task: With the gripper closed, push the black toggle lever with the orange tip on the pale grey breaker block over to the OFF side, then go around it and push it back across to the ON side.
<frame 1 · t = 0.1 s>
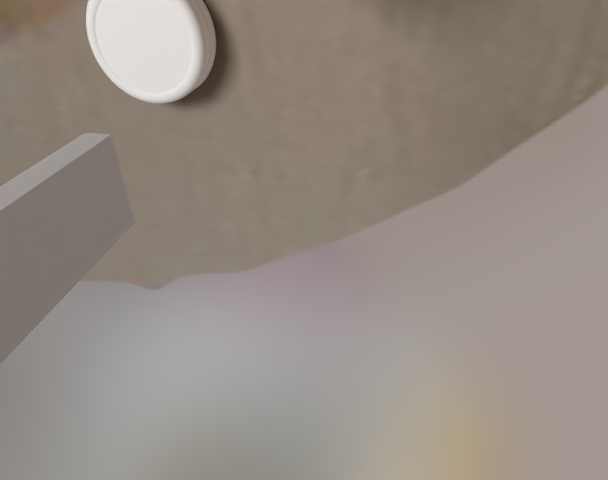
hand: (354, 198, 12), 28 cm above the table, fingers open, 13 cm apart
white short cylinder: (163, 33, 39), on the table
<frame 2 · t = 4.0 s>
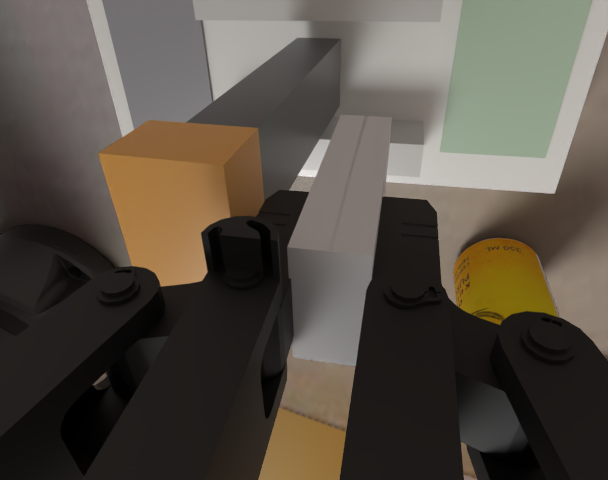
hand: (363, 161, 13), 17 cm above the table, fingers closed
beer can: (494, 263, 35), on the table
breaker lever: (272, 125, 16), point 15 cm above the table, hinge at -3.3°, touching gripper
breaker block: (343, 37, 28), on the table
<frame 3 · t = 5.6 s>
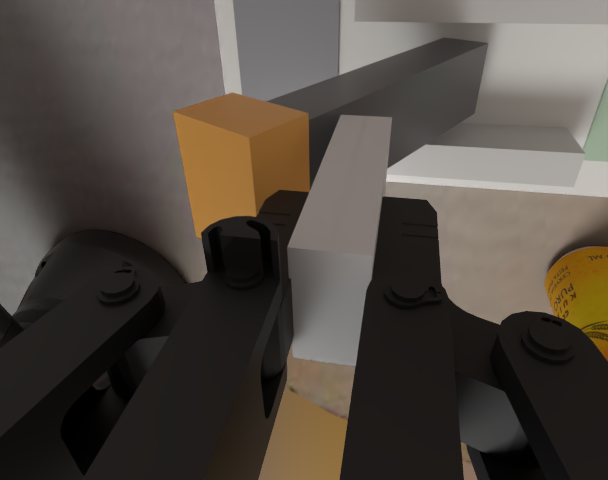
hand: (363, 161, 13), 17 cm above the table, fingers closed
beer can: (586, 271, 34), on the table
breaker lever: (371, 119, 16), point 14 cm above the table, hinge at -29.7°, touching gripper
breaker block: (456, 39, 27), on the table
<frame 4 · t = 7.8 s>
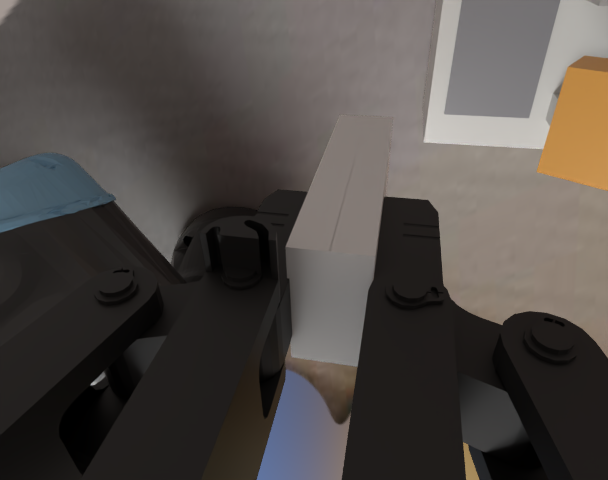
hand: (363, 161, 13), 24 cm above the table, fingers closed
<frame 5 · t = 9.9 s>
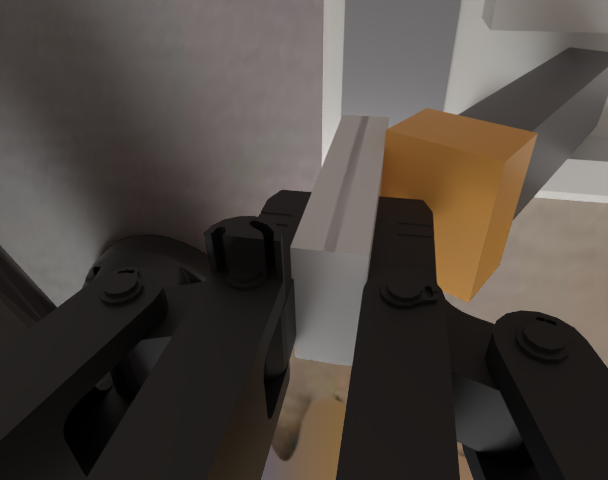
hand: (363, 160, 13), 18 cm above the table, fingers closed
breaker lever: (528, 134, 15), point 14 cm above the table, hinge at -28.7°, touching gripper
breaker block: (550, 47, 26), on the table
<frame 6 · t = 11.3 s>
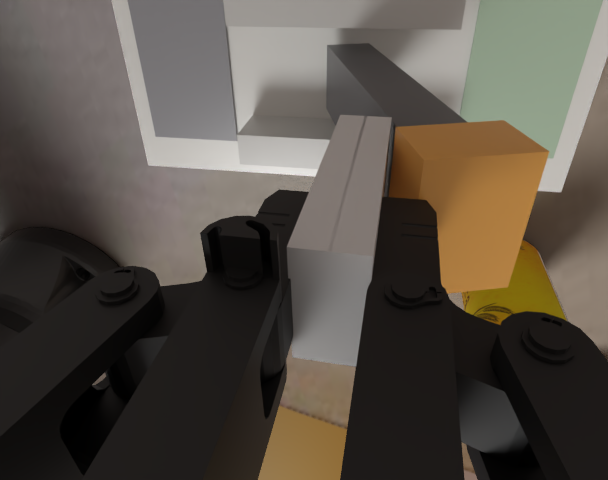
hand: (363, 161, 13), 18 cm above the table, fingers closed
beer can: (497, 261, 36), on the table
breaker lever: (387, 127, 16), point 15 cm above the table, hinge at 17.6°, touching gripper
breaker block: (355, 43, 29), on the table
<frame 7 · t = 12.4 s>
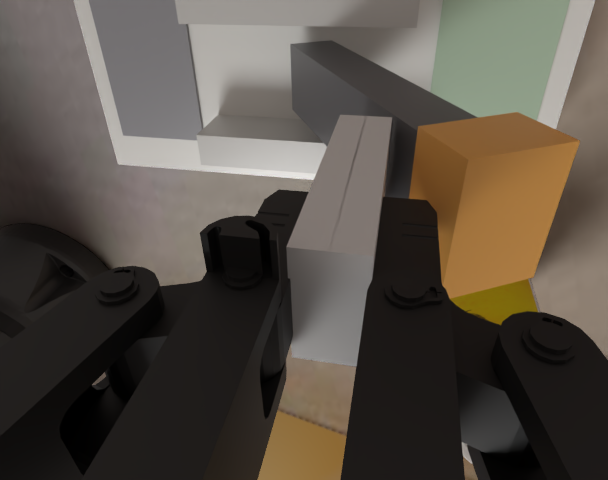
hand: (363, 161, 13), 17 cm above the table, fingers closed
beer can: (481, 265, 35), on the table
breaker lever: (375, 125, 16), point 14 cm above the table, hinge at 29.9°, touching gripper
breaker block: (330, 41, 28), on the table
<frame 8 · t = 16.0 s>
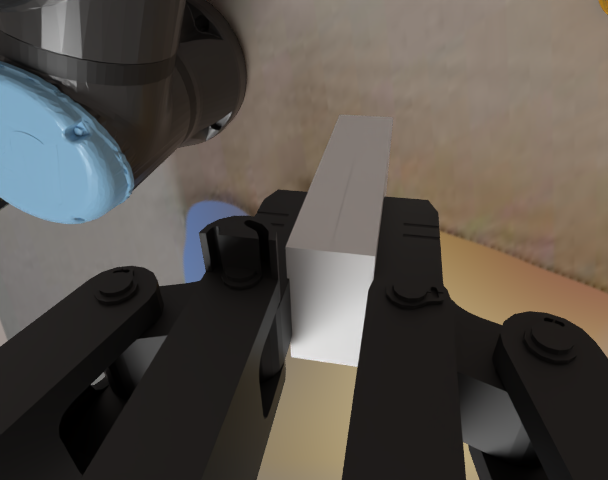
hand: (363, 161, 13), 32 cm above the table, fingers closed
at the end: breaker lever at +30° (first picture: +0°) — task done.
